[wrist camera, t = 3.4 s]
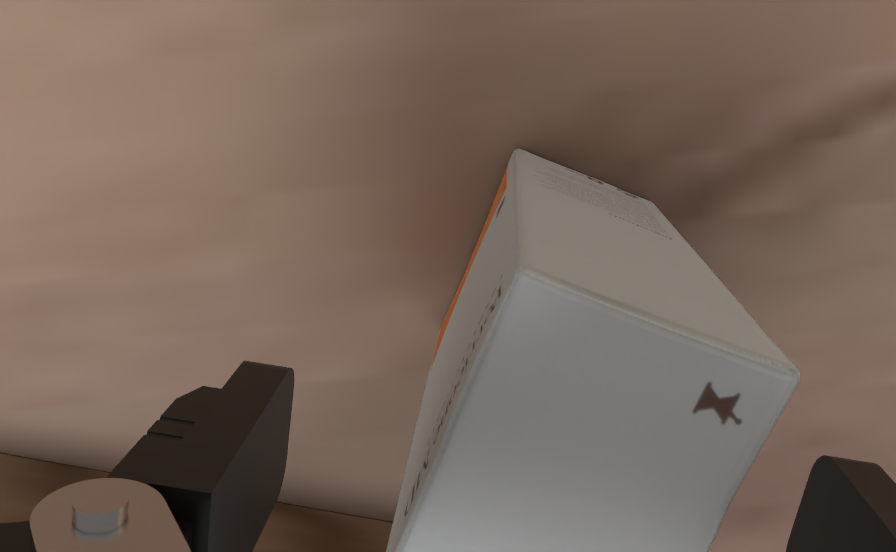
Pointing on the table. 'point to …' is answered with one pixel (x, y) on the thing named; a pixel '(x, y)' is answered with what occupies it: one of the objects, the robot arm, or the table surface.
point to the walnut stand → (278, 548)
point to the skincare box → (586, 383)
